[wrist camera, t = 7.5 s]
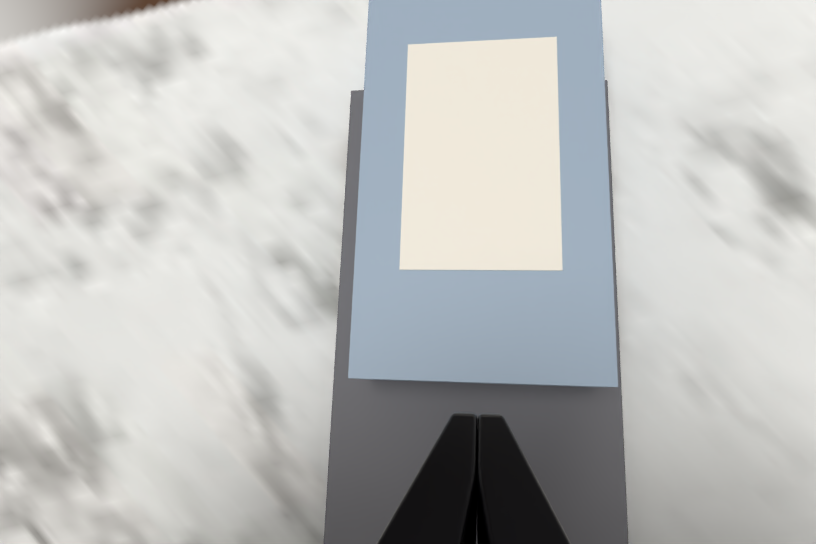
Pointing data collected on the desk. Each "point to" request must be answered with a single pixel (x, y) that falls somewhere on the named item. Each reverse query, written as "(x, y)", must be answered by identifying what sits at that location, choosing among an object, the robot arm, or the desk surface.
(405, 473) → the mat
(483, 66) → the card box
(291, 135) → the desk surface
